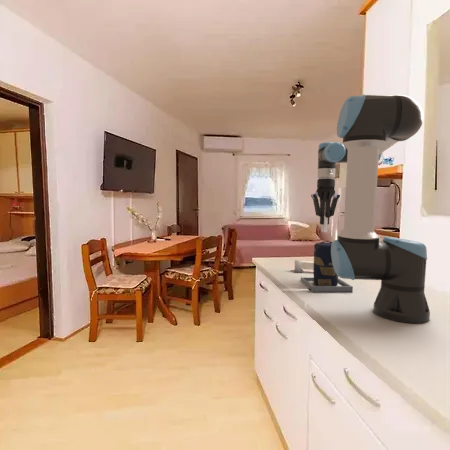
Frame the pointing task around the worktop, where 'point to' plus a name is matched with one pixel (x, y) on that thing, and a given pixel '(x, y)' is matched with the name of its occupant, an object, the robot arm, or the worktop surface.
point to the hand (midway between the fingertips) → (324, 231)
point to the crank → (303, 265)
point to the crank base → (298, 272)
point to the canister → (324, 265)
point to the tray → (328, 287)
